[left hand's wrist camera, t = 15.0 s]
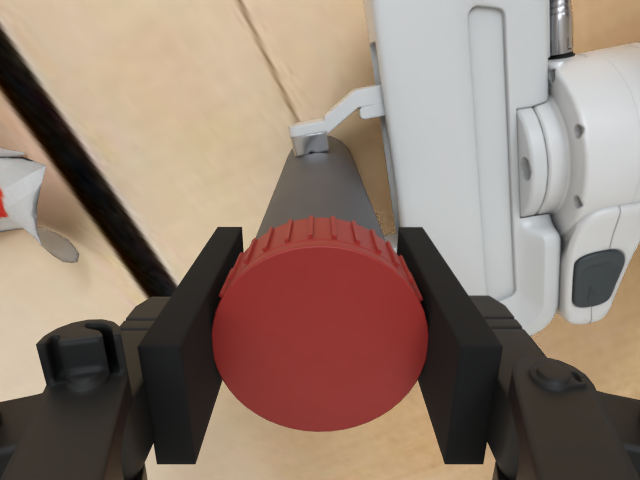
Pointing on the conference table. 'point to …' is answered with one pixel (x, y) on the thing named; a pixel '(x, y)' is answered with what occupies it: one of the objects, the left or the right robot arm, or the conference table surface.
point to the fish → (27, 203)
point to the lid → (320, 326)
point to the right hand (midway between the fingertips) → (303, 196)
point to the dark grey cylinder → (320, 190)
